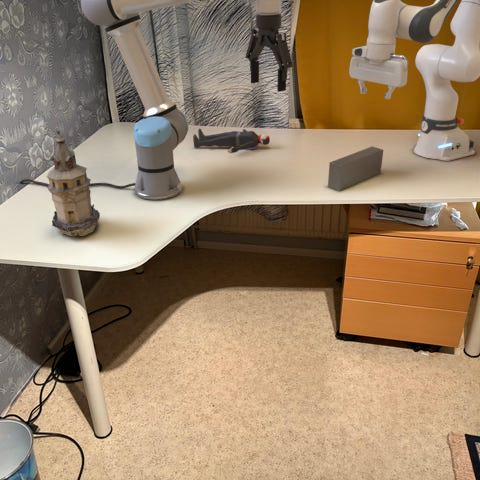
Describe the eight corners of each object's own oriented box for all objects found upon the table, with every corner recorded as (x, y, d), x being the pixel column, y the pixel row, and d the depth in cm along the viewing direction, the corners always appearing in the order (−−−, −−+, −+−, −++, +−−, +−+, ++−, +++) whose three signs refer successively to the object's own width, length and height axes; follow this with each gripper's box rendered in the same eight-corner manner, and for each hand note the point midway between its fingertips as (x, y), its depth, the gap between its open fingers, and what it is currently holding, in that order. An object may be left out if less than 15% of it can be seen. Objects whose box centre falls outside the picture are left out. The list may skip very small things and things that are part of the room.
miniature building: (80, 214, 164) (63, 117, 149) (111, 225, 157) (96, 125, 142) (44, 231, 154) (22, 130, 140) (75, 244, 147) (55, 139, 133)
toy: (204, 122, 226) (274, 122, 220) (205, 136, 229) (274, 137, 223) (186, 142, 204) (264, 143, 198) (188, 157, 207) (264, 159, 201)
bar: (338, 191, 176) (340, 166, 172) (327, 186, 179) (329, 162, 175) (380, 173, 189) (383, 149, 185) (369, 169, 192) (372, 146, 188)
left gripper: (306, 16, 150) (303, 92, 160) (253, 8, 168) (253, 77, 178) (285, 18, 146) (283, 96, 157) (233, 10, 164) (235, 81, 174)
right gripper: (414, 54, 162) (408, 100, 169) (360, 46, 176) (356, 89, 183) (402, 57, 159) (396, 104, 166) (348, 49, 172) (344, 92, 179)
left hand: (267, 86), depth 167 cm, fingers open, 13 cm apart
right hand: (375, 96), depth 174 cm, fingers open, 8 cm apart
